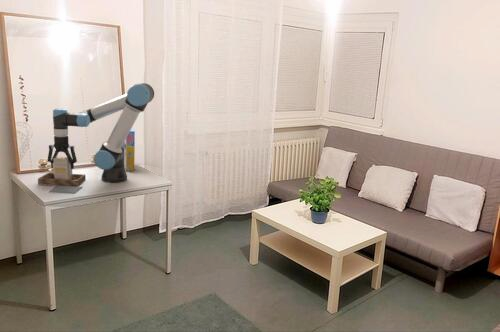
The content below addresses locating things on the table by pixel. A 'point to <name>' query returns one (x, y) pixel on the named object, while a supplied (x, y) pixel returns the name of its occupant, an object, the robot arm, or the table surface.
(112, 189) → the table surface
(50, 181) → the brown wooden tray
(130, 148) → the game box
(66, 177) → the supplement box
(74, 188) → the rubber mat
